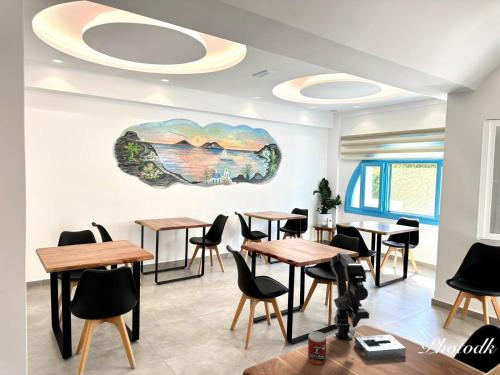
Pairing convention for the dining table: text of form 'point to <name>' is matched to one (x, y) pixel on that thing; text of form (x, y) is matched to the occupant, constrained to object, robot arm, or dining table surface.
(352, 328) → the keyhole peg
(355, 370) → the dining table surface
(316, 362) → the canned food
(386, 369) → the dining table surface
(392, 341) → the keyhole plate
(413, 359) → the dining table surface
